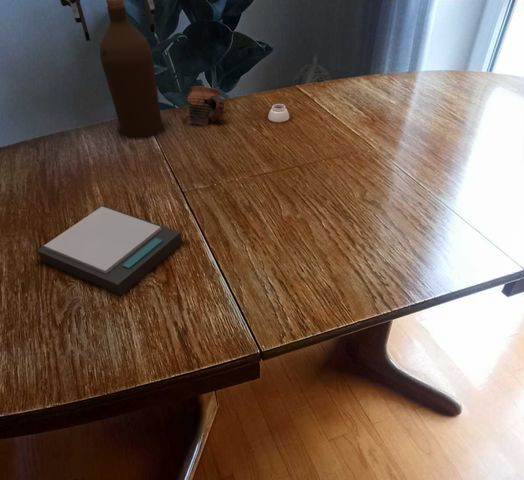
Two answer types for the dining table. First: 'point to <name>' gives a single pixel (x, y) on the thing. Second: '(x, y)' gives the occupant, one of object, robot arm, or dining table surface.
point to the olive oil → (130, 75)
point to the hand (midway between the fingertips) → (120, 32)
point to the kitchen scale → (111, 249)
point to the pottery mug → (203, 105)
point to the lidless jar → (278, 113)
